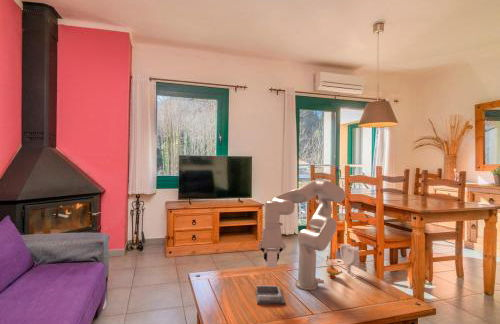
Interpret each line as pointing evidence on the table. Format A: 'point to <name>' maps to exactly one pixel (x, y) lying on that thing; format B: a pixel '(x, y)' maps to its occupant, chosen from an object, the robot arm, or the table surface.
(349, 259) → the heart sculpture
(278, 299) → the grey square tray
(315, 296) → the table surface
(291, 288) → the table surface
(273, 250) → the block
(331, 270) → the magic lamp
